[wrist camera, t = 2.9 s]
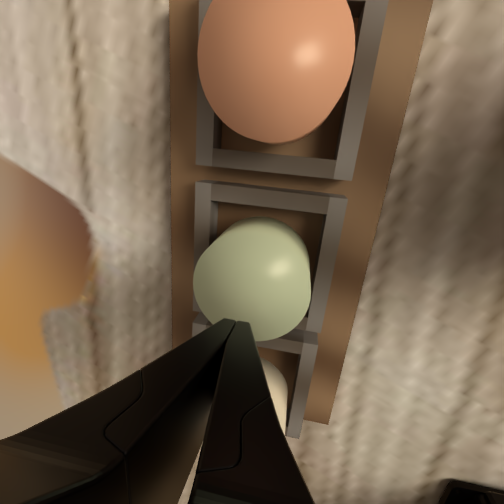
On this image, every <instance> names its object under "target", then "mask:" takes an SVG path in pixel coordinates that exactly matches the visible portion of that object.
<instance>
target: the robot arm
mask: <svg viewBox="0 0 504 504" xmlns="http://www.w3.org/2000/svg"><path fill="white" fill-rule="evenodd" d="M202 442H203V443H202ZM201 445H202V448H201V452H200V456H199V461H198V465H197V469H196V476H195V478H194V482H193V486H192V490H191V494H190V497H189V501H188V504H315V503H314V501H313V498H312V496H311V494H310V492H309V489H308V487H307V485H306V483H305V481H304V478H303V476H302V474H301V472H300V470H299V467H298V465H297V463H296V461H295V458H294V456H293V454H292V452H291V450H290V447H289V445H288V443H287V440H286V438H285V435H284V433H283V430H282V428H281V425H280V422H279V419H278V416H277V413H276V410H275V407H274V403H273V400H272V398H271V394H270V390H269V387H268V383H267V380H266V376H265V373H264V369H263V366H262V362H261V359H260V356H259V352H258V349H257V345H256V342H255V338H254V335H253V331H252V328H251V325H250V323H249V322H245V321H237V322H236V320H233V319H227V318H223V319H221V320H220V321H218V322H217V323H215V324H213V325H212V326H210V327H208V328H207V329H205V330H203V331H202V332H200V333H199V334H197V335H195V336H194V337H192V338H190V339H189V340H187V341H185V342H184V343H182V344H180V345H179V346H177V347H176V348H174V349H172V350H171V351H169V352H167V353H166V354H164V355H162V356H161V357H159V358H157V359H156V360H154V361H153V362H151V363H149V364H148V365H146V366H144V367H143V368H141V370H138V371H136V372H134V373H133V374H131V375H129V376H128V377H126V378H124V379H123V380H121V381H119V382H117V383H116V384H114V385H112V386H110V387H109V388H107V389H105V390H103V391H101V392H99V393H97V394H95V395H94V396H92V397H90V398H88V399H86V400H84V401H82V402H80V403H78V404H76V405H74V406H72V407H70V408H68V409H66V410H64V411H62V412H60V413H58V414H56V415H54V416H52V417H50V418H48V419H46V420H44V421H42V422H40V423H38V424H36V425H34V426H32V427H30V428H28V429H26V430H24V431H22V432H20V433H18V434H15V435H13V436H10V437H8V438H5V439H2V440H0V504H178V501H179V499H180V496H181V494H182V491H183V489H184V486H185V484H186V482H187V479H188V477H189V474H190V472H191V469H192V467H193V464H194V462H195V459H196V457H197V454H198V452H199V449H200V447H201ZM439 504H504V492H503V491H499V490H495V489H490V488H486V487H481V486H477V485H473V484H468V483H464V482H459V481H452V482H450V483H449V484H448V486H447V488H446V490H445V492H444V494H443V496H442V498H441V500H440V502H439Z"/></svg>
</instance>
